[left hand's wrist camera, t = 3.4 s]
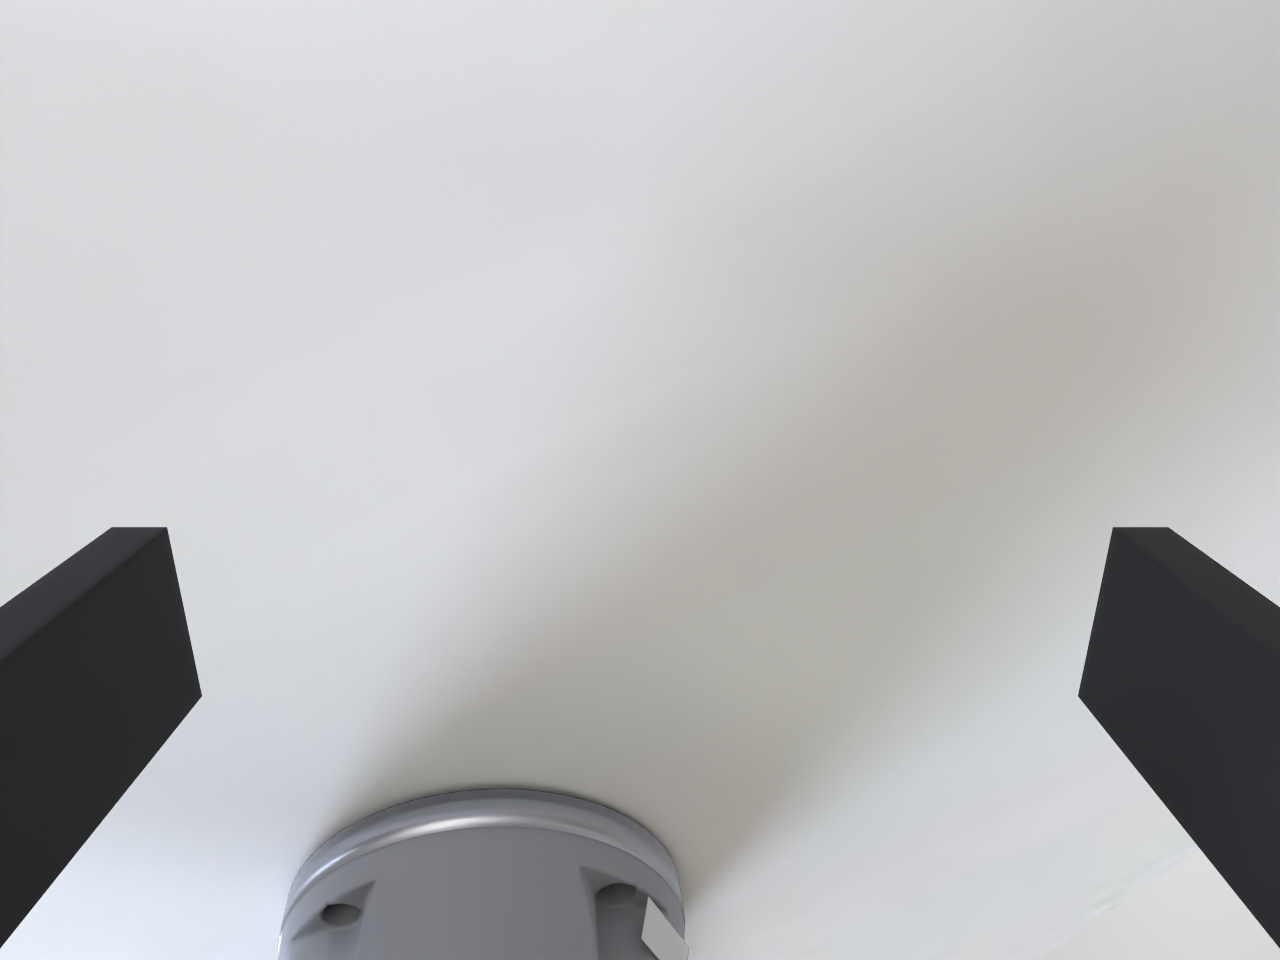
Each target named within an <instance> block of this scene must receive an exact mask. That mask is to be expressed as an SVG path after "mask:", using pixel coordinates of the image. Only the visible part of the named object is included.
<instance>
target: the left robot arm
mask: <svg viewBox="0 0 1280 960" xmlns="http://www.w3.org/2000/svg"><path fill="white" fill-rule="evenodd" d="M201 697H202V694H201V689H200V685H199V680H198V675H197V670H196V665H195V660H194V656H193V651H192V646H191V641H190V636H189V631H188V627H187V622H186V617H185V612H184V607H183V602H182V598H181V593H180V588H179V583H178V578H177V573H176V569H175V564H174V559H173V554H172V549H171V544H170V540H169V535H168V530H167V527H112V528H110V529H109V530H107V531H106V532H105V533H103V534H102V535H100V536H99V537H98V538H96V539H95V540H93V541H92V542H91V543H89V544H88V545H87V546H85V547H84V548H82V549H81V550H80V551H78V552H77V553H75V554H74V555H73V556H71V557H70V558H68V559H67V560H66V561H64V562H63V563H61V564H60V565H59V566H57V567H56V568H54V569H53V570H52V571H50V572H49V573H48V574H46V575H45V576H43V577H42V578H41V579H39V580H38V581H36V582H35V583H34V584H32V585H31V586H29V587H28V588H27V589H25V590H24V591H22V592H21V593H20V594H18V595H17V596H15V597H14V598H13V599H11V600H10V601H8V602H7V603H6V604H4V605H3V606H2V607H0V948H1V947H2V945H3V944H4V943H5V942H6V940H7V939H8V938H9V937H10V935H11V934H12V933H13V932H14V930H15V929H16V928H17V927H18V925H19V924H20V923H21V922H22V920H23V919H24V918H25V917H26V915H27V914H28V913H29V912H30V910H31V909H32V908H33V907H34V905H35V904H36V903H37V902H38V900H39V899H40V898H41V897H42V895H43V894H44V893H45V892H46V890H47V889H48V888H49V887H50V885H51V884H52V883H53V882H54V880H55V879H56V878H57V877H58V875H59V874H60V873H61V872H62V870H63V869H64V868H65V867H66V865H67V864H68V863H69V862H70V860H71V859H72V858H73V857H74V855H75V854H76V853H77V852H78V850H79V849H80V848H81V847H82V845H83V844H84V843H85V842H86V840H87V839H88V838H89V837H90V835H91V834H92V833H93V832H94V830H95V829H96V828H97V827H98V825H99V824H100V823H101V822H102V820H103V819H104V818H105V817H106V815H107V814H108V813H109V812H110V810H111V809H112V808H113V807H114V805H115V804H116V803H117V802H118V800H119V799H120V798H121V797H122V795H123V794H124V793H125V792H126V790H127V789H128V788H129V787H130V785H131V784H132V783H133V782H134V780H135V779H136V778H137V777H138V775H139V774H140V773H141V772H142V770H143V769H144V768H145V767H146V765H147V764H148V763H149V762H150V760H151V759H152V758H153V757H154V755H155V754H156V753H157V752H158V750H159V749H160V748H161V747H162V745H163V744H164V743H165V742H166V740H167V739H168V738H169V737H170V735H171V734H172V733H173V732H174V730H175V729H176V728H177V727H178V725H179V724H180V723H181V722H182V720H183V719H184V718H185V717H186V715H187V714H188V713H189V712H190V710H191V709H192V708H193V707H194V705H195V704H196V703H197V702H198V700H199V699H200V698H201ZM1078 697H1079V698H1080V699H1081V700H1082V702H1083V703H1084V704H1085V705H1086V707H1087V708H1088V709H1089V710H1090V712H1091V713H1092V714H1093V715H1094V717H1095V718H1096V719H1097V720H1098V722H1099V723H1100V724H1101V725H1102V727H1103V728H1104V729H1105V730H1106V732H1107V733H1108V734H1109V735H1110V737H1111V738H1112V739H1113V740H1114V742H1115V743H1116V744H1117V745H1118V747H1119V748H1120V749H1121V750H1122V752H1123V753H1124V754H1125V755H1126V757H1127V758H1128V759H1129V760H1130V762H1131V763H1132V764H1133V765H1134V767H1135V768H1136V769H1137V770H1138V772H1139V773H1140V774H1141V775H1142V777H1143V778H1144V779H1145V780H1146V782H1147V783H1148V784H1149V785H1150V787H1151V788H1152V789H1153V790H1154V792H1155V793H1156V794H1157V795H1158V797H1159V798H1160V799H1161V800H1162V802H1163V803H1164V804H1165V805H1166V807H1167V808H1168V809H1169V810H1170V812H1171V813H1172V814H1173V815H1174V817H1175V818H1176V819H1177V820H1178V822H1179V823H1180V824H1181V825H1182V827H1183V828H1184V829H1185V830H1186V832H1187V833H1188V834H1189V835H1190V837H1191V838H1192V839H1193V840H1194V842H1195V843H1196V844H1197V845H1198V847H1199V848H1200V849H1201V850H1202V852H1203V853H1204V854H1205V855H1206V857H1207V858H1208V859H1209V860H1210V862H1211V863H1212V864H1213V865H1214V867H1215V868H1216V869H1217V870H1218V872H1219V873H1220V874H1221V875H1222V877H1223V878H1224V879H1225V880H1226V882H1227V883H1228V884H1229V885H1230V887H1231V888H1232V889H1233V890H1234V892H1235V893H1236V894H1237V895H1238V897H1239V898H1240V899H1241V900H1242V902H1243V903H1244V904H1245V905H1246V907H1247V908H1248V909H1249V910H1250V912H1251V913H1252V914H1253V915H1254V917H1255V918H1256V919H1257V920H1258V922H1259V923H1260V924H1261V925H1262V927H1263V928H1264V929H1265V930H1266V932H1267V933H1268V934H1269V935H1270V937H1271V938H1272V939H1273V940H1274V942H1275V943H1276V944H1277V945H1278V947H1279V948H1280V607H1278V606H1277V605H1276V604H1274V603H1273V602H1272V601H1270V600H1269V599H1267V598H1266V597H1265V596H1263V595H1262V594H1260V593H1259V592H1258V591H1256V590H1255V589H1253V588H1252V587H1251V586H1249V585H1248V584H1246V583H1245V582H1244V581H1242V580H1241V579H1239V578H1238V577H1237V576H1235V575H1234V574H1232V573H1231V572H1230V571H1228V570H1227V569H1226V568H1224V567H1223V566H1221V565H1220V564H1219V563H1217V562H1216V561H1214V560H1213V559H1212V558H1210V557H1209V556H1207V555H1206V554H1205V553H1203V552H1202V551H1200V550H1199V549H1198V548H1196V547H1195V546H1193V545H1192V544H1191V543H1189V542H1188V541H1187V540H1185V539H1184V538H1182V537H1181V536H1180V535H1178V534H1177V533H1175V532H1174V531H1173V530H1171V529H1170V528H1168V527H1113V530H1112V535H1111V540H1110V544H1109V549H1108V554H1107V559H1106V564H1105V569H1104V573H1103V578H1102V583H1101V588H1100V593H1099V598H1098V602H1097V607H1096V612H1095V617H1094V622H1093V627H1092V631H1091V636H1090V641H1089V646H1088V651H1087V656H1086V660H1085V665H1084V670H1083V675H1082V680H1081V685H1080V689H1079V694H1078ZM684 929H685V918H684V910H683V904H682V897H681V891H680V885H679V878H678V874H677V871H676V868H675V865H674V863H673V861H672V859H671V857H670V855H669V854H668V852H667V851H666V849H665V848H664V847H663V845H662V844H661V843H660V842H659V841H658V840H657V839H656V838H655V837H654V836H653V835H652V834H651V833H649V832H648V831H647V830H646V829H645V828H643V827H642V826H640V825H639V824H637V823H636V822H634V821H633V820H631V819H629V818H627V817H626V816H624V815H622V814H620V813H618V812H616V811H613V810H611V809H609V808H606V807H604V806H601V805H598V804H595V803H592V802H589V801H586V800H583V799H579V798H574V797H570V796H566V795H561V794H555V793H549V792H542V791H532V790H517V789H484V790H470V791H459V792H453V793H446V794H440V795H434V796H430V797H425V798H421V799H416V800H413V801H409V802H406V803H402V804H399V805H396V806H393V807H390V808H388V809H385V810H382V811H379V812H377V813H375V814H372V815H370V816H368V817H366V818H364V819H361V820H359V821H358V822H356V823H354V824H352V825H350V826H349V827H347V828H345V829H343V830H342V831H340V832H339V833H337V834H336V835H334V836H333V837H332V838H330V839H329V840H328V841H326V842H325V843H324V844H323V845H322V846H320V847H319V848H318V849H317V850H316V851H315V852H314V853H313V854H312V855H311V856H310V857H309V858H308V860H307V861H306V862H305V863H304V865H303V866H302V868H301V869H300V870H299V872H298V874H297V876H296V878H295V879H294V881H293V884H292V887H291V890H290V892H289V896H288V901H287V905H286V909H285V913H284V918H283V922H282V926H281V931H280V937H279V959H278V960H688V952H689V947H688V946H687V945H686V943H685V942H684Z"/></svg>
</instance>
